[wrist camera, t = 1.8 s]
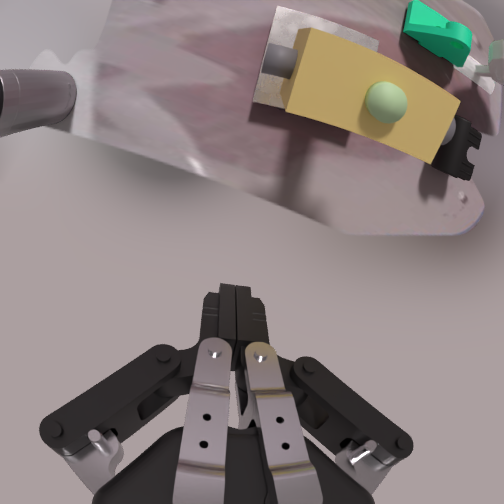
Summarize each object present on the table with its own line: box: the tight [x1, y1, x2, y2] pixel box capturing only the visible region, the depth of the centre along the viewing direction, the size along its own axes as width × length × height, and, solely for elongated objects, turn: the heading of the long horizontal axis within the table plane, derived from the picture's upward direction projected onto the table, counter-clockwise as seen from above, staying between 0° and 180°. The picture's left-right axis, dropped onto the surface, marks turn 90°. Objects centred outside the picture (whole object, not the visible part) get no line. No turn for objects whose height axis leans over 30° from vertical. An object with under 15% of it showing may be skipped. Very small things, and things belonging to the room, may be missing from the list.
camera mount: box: [403, 0, 472, 67], centre depth 23 cm, size 12×8×10 cm, turn 76°
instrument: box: [261, 27, 461, 164], centre depth 21 cm, size 16×6×20 cm, turn 78°
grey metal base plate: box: [253, 6, 379, 109], centre depth 30 cm, size 15×15×6 cm
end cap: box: [431, 115, 482, 181], centre depth 35 cm, size 10×7×7 cm
